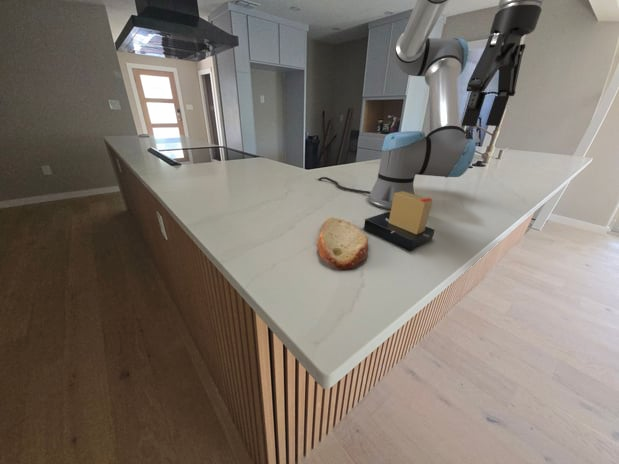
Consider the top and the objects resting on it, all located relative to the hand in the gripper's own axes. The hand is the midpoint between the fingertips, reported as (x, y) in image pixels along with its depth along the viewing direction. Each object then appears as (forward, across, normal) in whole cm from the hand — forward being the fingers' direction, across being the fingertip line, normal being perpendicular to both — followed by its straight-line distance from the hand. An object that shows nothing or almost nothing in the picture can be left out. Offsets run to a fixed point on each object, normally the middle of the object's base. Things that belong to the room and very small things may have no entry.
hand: (481, 126), depth 59 cm
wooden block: (+24, +16, -4) cm, 29 cm away
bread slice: (+27, +32, -11) cm, 43 cm away
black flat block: (+27, +16, -6) cm, 32 cm away
